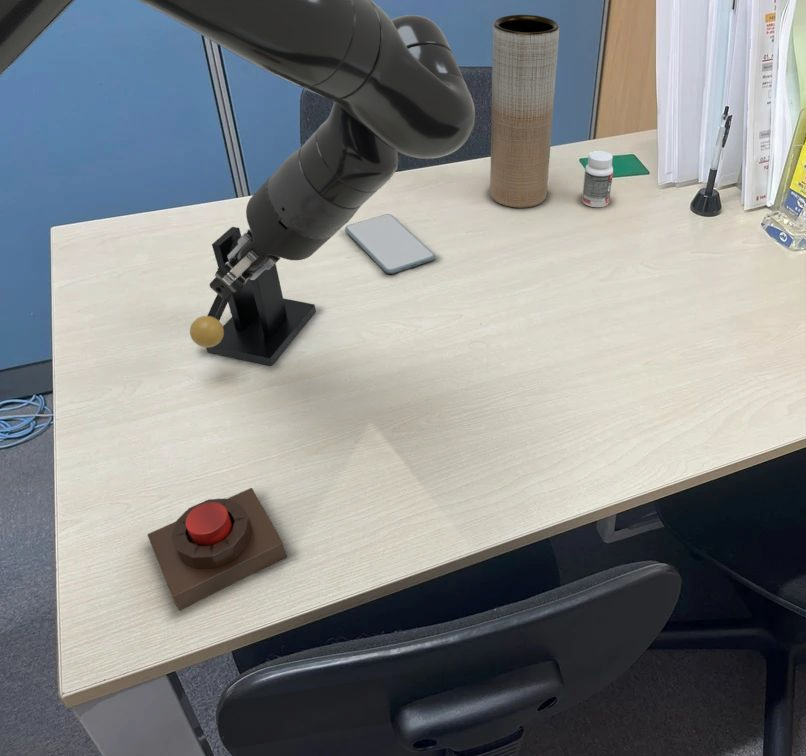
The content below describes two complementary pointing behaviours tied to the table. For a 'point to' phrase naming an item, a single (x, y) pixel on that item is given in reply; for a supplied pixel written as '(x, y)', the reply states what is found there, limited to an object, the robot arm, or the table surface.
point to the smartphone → (389, 243)
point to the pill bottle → (598, 179)
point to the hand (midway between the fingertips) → (219, 289)
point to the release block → (217, 551)
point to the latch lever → (211, 319)
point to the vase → (522, 108)
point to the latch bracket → (258, 314)
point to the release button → (208, 523)
